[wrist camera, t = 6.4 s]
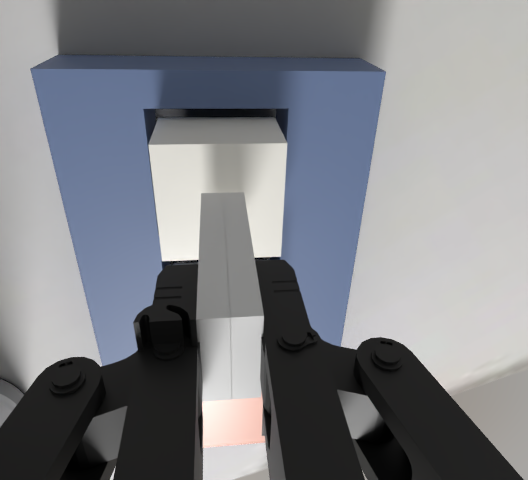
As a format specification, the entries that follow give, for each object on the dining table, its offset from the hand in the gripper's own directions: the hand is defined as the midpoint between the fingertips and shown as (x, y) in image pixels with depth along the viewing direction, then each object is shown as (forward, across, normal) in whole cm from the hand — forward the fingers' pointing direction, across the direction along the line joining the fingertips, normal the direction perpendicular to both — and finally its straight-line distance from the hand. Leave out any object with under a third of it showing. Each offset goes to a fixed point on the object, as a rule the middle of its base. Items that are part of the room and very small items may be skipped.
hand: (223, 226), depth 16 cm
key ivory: (+5, 0, 0) cm, 5 cm away
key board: (+8, 0, -7) cm, 11 cm away
